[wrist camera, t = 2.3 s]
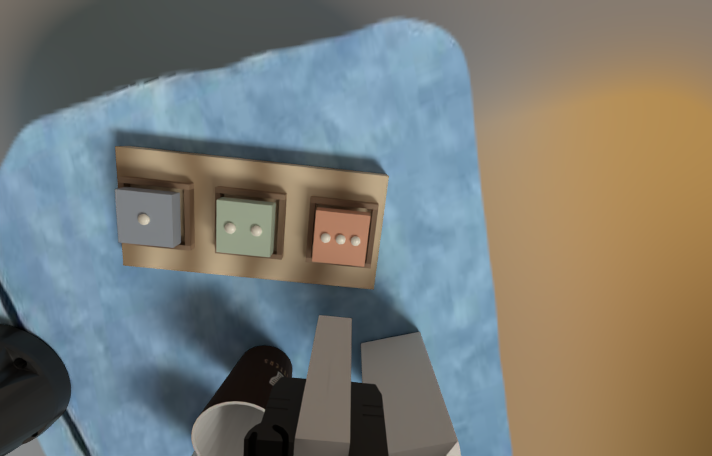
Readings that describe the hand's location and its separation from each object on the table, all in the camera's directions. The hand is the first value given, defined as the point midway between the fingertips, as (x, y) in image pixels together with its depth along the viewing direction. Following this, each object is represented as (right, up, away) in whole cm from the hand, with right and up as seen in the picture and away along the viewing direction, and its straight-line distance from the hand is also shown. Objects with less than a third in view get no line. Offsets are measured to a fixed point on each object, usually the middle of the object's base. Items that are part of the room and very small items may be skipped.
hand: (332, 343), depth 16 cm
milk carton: (+6, -11, +25) cm, 28 cm away
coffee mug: (-10, -13, +26) cm, 30 cm away
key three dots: (0, +5, +18) cm, 18 cm away
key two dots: (-9, +6, +17) cm, 20 cm away
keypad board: (-9, +6, +20) cm, 23 cm away
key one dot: (-18, +7, +17) cm, 26 cm away
